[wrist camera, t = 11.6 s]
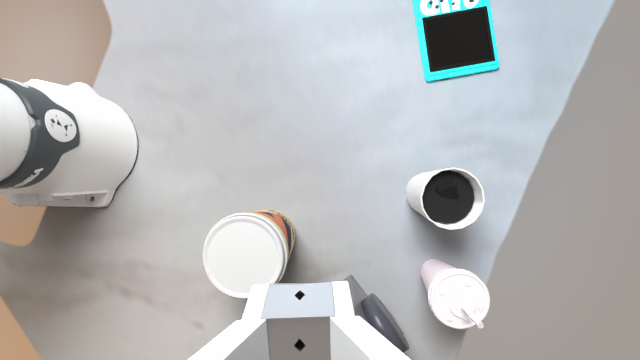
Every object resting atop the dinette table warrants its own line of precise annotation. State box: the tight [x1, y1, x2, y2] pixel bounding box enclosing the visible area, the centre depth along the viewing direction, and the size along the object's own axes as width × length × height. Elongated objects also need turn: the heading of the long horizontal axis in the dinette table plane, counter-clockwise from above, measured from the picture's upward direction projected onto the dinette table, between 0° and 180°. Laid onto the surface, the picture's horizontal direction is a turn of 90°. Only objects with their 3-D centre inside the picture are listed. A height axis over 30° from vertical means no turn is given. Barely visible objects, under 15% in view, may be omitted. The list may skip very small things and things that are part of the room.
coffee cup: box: [203, 209, 295, 299], centre depth 38 cm, size 9×9×12 cm
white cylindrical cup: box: [406, 167, 485, 230], centre depth 37 cm, size 7×7×10 cm
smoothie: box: [420, 259, 490, 329], centre depth 35 cm, size 6×6×14 cm
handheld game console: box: [412, 0, 499, 82], centre depth 42 cm, size 10×16×1 cm, turn 9°
